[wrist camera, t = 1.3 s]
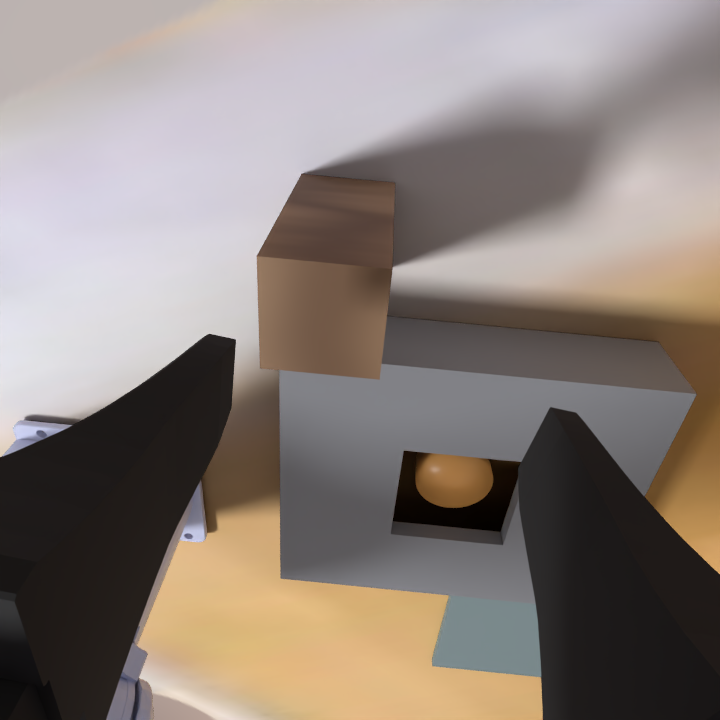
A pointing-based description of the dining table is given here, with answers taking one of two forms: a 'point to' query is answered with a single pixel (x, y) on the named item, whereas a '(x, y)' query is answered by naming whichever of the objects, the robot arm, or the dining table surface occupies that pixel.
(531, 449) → the robot arm
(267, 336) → the tall wooden block
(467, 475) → the button
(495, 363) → the grey flat block
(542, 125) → the dining table surface
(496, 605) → the mat
